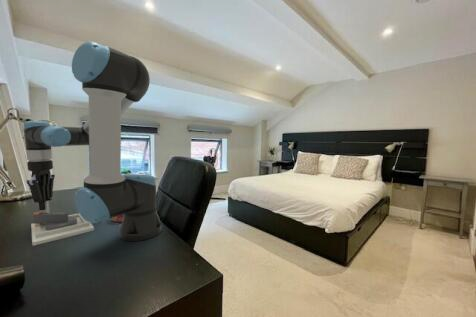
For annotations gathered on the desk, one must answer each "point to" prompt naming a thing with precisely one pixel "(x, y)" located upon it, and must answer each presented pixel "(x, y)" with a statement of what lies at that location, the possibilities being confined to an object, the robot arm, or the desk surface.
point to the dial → (54, 220)
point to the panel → (59, 230)
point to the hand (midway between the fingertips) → (45, 216)
